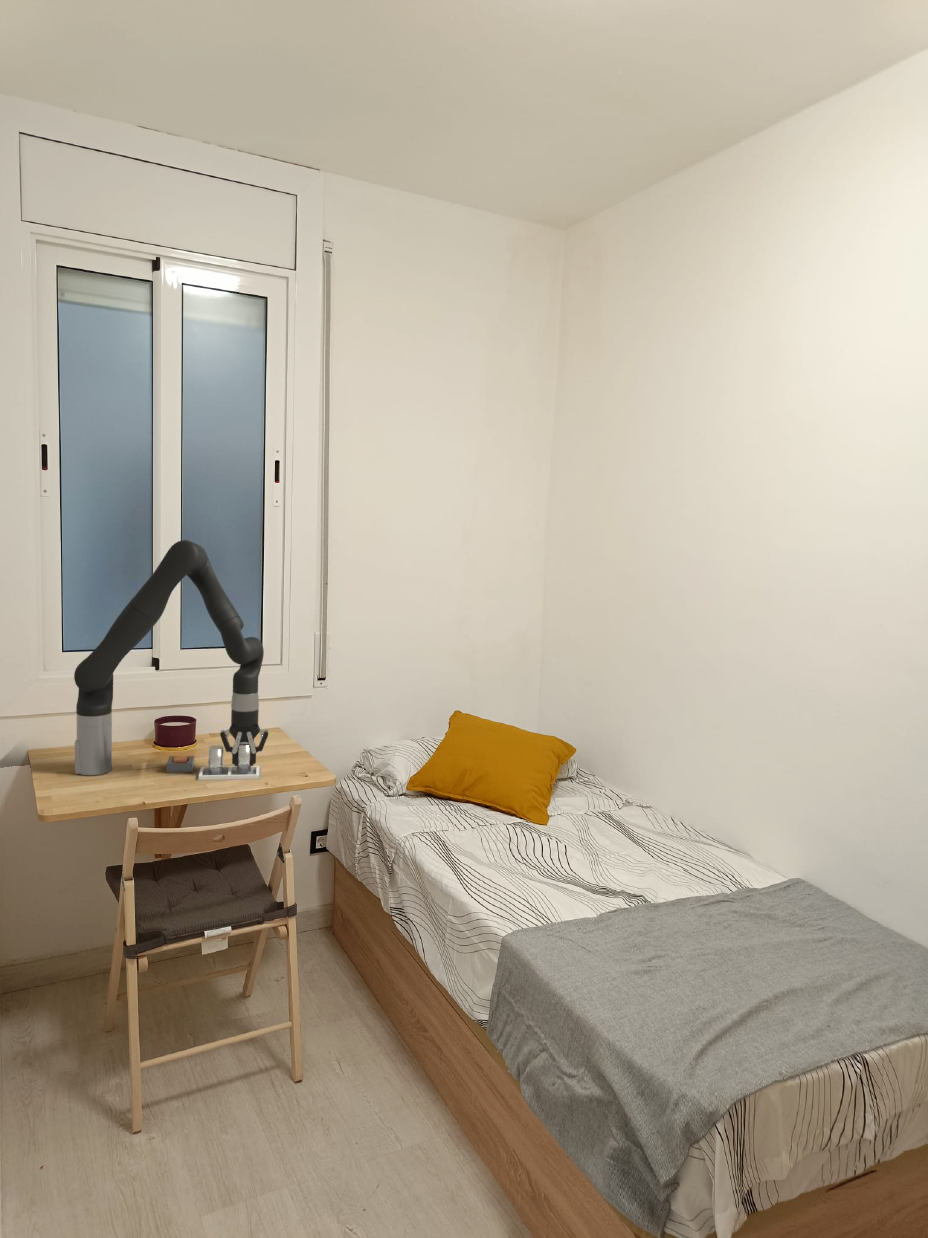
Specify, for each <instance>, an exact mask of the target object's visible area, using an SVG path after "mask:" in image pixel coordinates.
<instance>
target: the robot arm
mask: <svg viewBox="0 0 928 1238" xmlns="http://www.w3.org/2000/svg"><path fill="white" fill-rule="evenodd" d="M186 576H187V577H188V578H189V579H190V581H191V582H192V583H193V584H194V585H195V587H196V588H197V590H198V591H199V594H200V595H201V597H202V600H203V603H204V605H205V606H204V607H205V608H206V611H207V613H208V616H209V617H210V618H211V620H212V622H213V624H214V626H215V627H216V628H217V630H218V632H219V633H220V636H221V640H222V642H223V645H224V648H225V652H226V653H227V656H228V657H229V658H230V660H231V661H232V662H233V663H235V664H236V665H239V668H238V669H237V671H235V672H234V673H233V676H232V696H231V703H230V708H231V712H230V713H231V715H230V727H229V729H225V730H224V729H222V730H221V731H220V734H219V735H220V739H221V741H222V744H223V748H224V749H225V752H226V753H231V764H232V765H234V766H237V749H238V745H239V743H242V742H247V743H249V744H250V747H251V766H254V765H256V763H257V761H256V760H257V753H259V752H262V751H263V749H264V747H265V744H266V742H267V739H268V736H269V730H268V729H262V728H260V726H259V709H260V708H259V707H260V704H259V703H260V701H259V700H260V699H259V676H260V672H261V669H262V664H263V660H264V656H265V655H264V654H265V653H264V645H263V643H262V641H261V640H260V639H259V638H257V637H254V636H249V637H244V636H243V633H242V630H243V628H244V624H245V623H244V620H243V619H242V617H241V616H240V615H239V612H238V611H237V609H236V608H235V606H234V605H233V604H232V602H231V600H230V598H229V597H228V595H227V594H226V592H225V591H224V589H223V587H222V585H221V583H220V581H219V579H218V577H217V576H216V573H215V571H214V569H213V567H212V564H211V561H210V559H209V557H208V555H207V552H206V550H205V549H204V548H203V547H202V546H201V545H199V544H198V543H197V542H196V543H195V542H194V541H191V540H187V539H183V540H182V539H181V540H178V541H176V542H175V543H173V544H172V545H171V547H170V548H168V550H167V552H166V553H165V555H164V557H163V558H162V560H161V561H160V563H159V564H158V566H157V567H156V569H155V571H154V572H153V573H152V574H151V575H150V577H149V578H148V579H147V580H146V582H145V583H144V584H143V585H142V586H141V587H140V589H139V590H138V591H137V593H136V594H135V595H134V596H133V597H132V598H131V599H130V601H129V602H128V603H127V605H126V606H125V607H124V608H123V609H122V610H121V612H120V613H119V615H118V616H117V617H116V619H115V620H114V622H113V623H112V625H111V626H110V628H109V629H108V631H107V633H106V634H105V636H104V637H103V639H102V641H101V642H100V643H99V644H98V645H97V646H96V648H94V650H93V651H92V652H91V653H90V654H89V655H88V656H86V657H85V658H84V659H83V660H82V661H81V662H80V663H79V664H78V665H77V666H76V668H75V669H74V672H73V673H74V675H73V678H74V683H75V685H76V687H77V688H78V695H77V700H76V701H77V702H76V740H75V741H74V774H76V775H83V776H100V775H104V774H107V773H110V772H111V771H112V770H113V766H112V765H113V762H112V760H113V759H112V758H113V755H112V754H113V753H112V752H113V745H112V743H113V739H112V738H113V736H112V735H113V733H112V732H113V731H112V730H113V729H112V728H113V727H112V726H113V725H112V724H113V720H112V719H113V718H112V717H113V715H112V714H113V713H112V712H113V711H112V709H113V707H112V706H113V699H114V672H115V670H116V669H117V668H118V666H119V665H120V663H121V662H122V660H124V658H125V657H126V656H127V655H128V654H129V653H130V652H131V651H132V650H133V649H134V648H135V647H136V646H137V645H138V644H139V643H140V642H141V641H142V640H143V639H144V638H145V637H146V636H147V634H149V632H150V631H151V630H152V629H153V628H154V626H156V624H157V623H158V621H159V620H160V619H161V617H162V615H163V614H164V611H165V610H166V607H167V605H168V601H169V598H170V597H171V595H172V593H173V591H174V589H175V588H176V587H177V585H179V583H181V581H182V579H184V578H185V577H186ZM229 734H230V735H231V736H232V738H233V739H234V743H233V746H231V745H230V742H229V739H228V738H229V736H230V735H229ZM258 734H259V737H260V738H261V739H260V741H259V743H258V746H256V743H255V738H256V737H257V735H258Z"/></svg>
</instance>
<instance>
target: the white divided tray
mask: <svg viewBox="0 0 928 1238" xmlns="http://www.w3.org/2000/svg"><path fill="white" fill-rule="evenodd" d="M261 777H262V768H261V767H260V765H253V766H251V771H250V772H247V773H239V772H237V766H235V765H233V766H232V765H227V766H225V765H223V775H208V766H201V767H200V769H199V770H198V774H197V777H196V781H197V782H198V781H238V780H239V781H241V780H242V781H243V780H245V781H247V780H262V778H261Z"/></svg>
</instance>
